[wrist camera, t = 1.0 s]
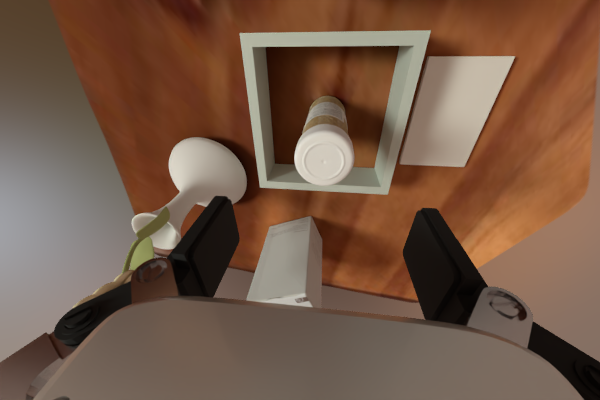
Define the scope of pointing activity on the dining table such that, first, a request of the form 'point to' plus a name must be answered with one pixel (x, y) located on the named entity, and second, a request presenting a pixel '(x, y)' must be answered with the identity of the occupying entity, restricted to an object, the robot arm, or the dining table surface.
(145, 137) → the dining table surface
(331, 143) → the sprinkles bottle
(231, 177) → the flower in vase
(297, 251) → the skincare box
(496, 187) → the dining table surface
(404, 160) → the mat
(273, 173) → the open box
